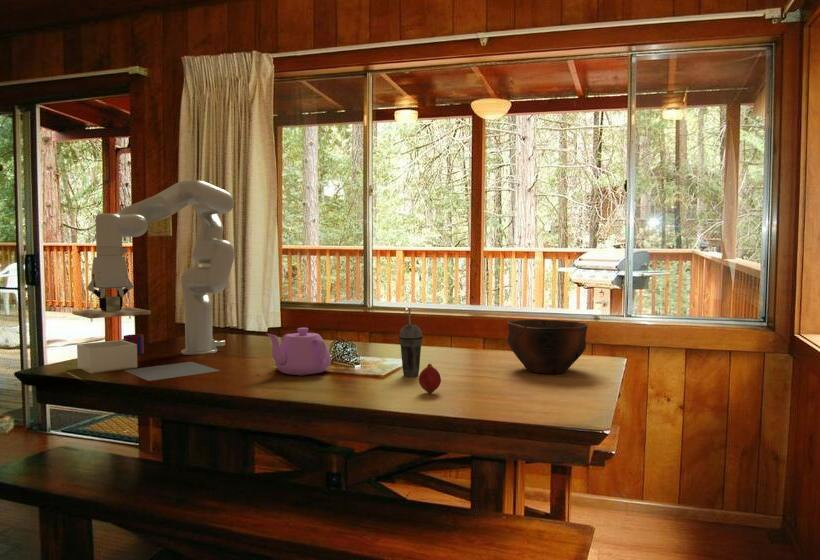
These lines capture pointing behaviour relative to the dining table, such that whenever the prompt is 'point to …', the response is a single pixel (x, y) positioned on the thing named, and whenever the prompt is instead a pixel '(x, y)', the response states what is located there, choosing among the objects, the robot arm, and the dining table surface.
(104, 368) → the basin
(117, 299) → the lid
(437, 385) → the onion
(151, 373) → the mat
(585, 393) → the dining table surface
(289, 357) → the teapot
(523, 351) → the bowl
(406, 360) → the beverage cup
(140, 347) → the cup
